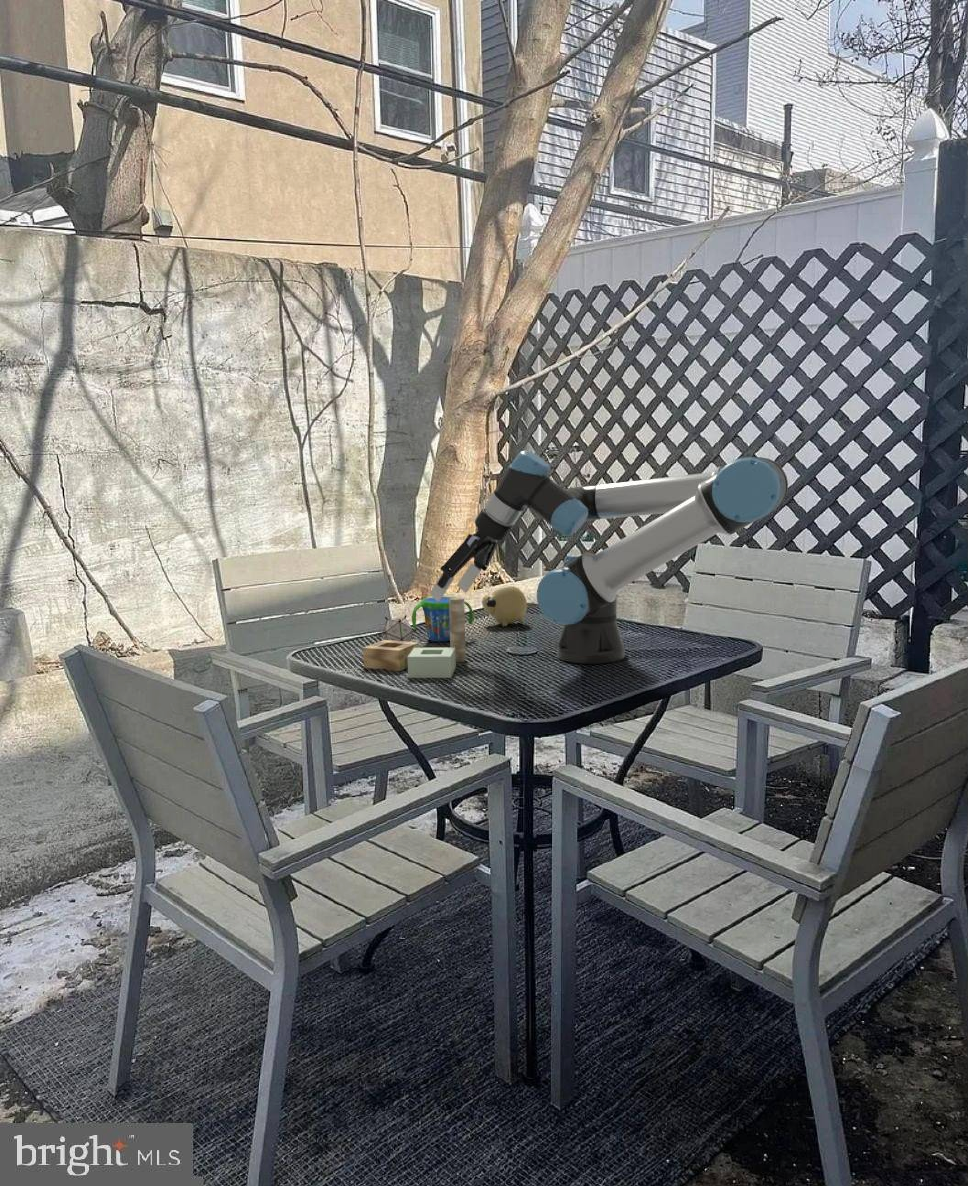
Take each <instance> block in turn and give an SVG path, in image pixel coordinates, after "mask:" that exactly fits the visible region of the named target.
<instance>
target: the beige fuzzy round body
mask: <svg viewBox="0 0 968 1186" xmlns="http://www.w3.org/2000/svg"><path fill="white" fill-rule="evenodd" d="M481 601H482V602H481V604H482V608H483V609H484V611H485V612H487V614H489V616H491V617H492V619H493V620H494V621H496V622H497V623H499V624H501V626H502V627H504V626H506V627H507V626H508V625H510V624H514V623H517V622H518V621H519V622H524V621H525V614H526V613H527V609H528V602H527V598H526V595H525V594H524V592H523V591H522V590H521V589H520V588H518V587H516V586H513V585H505V586H502V587H500V588H498V589H496V590H494V592H492V593H488V594H487V595H485V596H484V597H483V598H482V599H481Z"/></svg>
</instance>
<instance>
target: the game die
mask: <svg viewBox="0 0 968 1186" xmlns="http://www.w3.org/2000/svg"><path fill="white" fill-rule="evenodd" d="M407 617H408V616H407V614H405V615H404V617H398V618H388V617H387V616H384V619H385V620H386V621H385V623H384V627H383V630H382V632H381V634H379V635H378V638H382V639H383V640H393V641H406V642H412V641H411V640H412V638H413V635H414V632H416V631H418V628H416V629H415V628H414V627H413V626H412V625H411V624H410V623H409V622H408V620H407V619H406V618H407Z"/></svg>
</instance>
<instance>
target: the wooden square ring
mask: <svg viewBox="0 0 968 1186" xmlns="http://www.w3.org/2000/svg"><path fill="white" fill-rule="evenodd" d="M414 648H420V642H418V641H417V642H415V641H410V642H406V641H393V640H384V639H383V640H380V641H378V642H375V643H372V644H369V645H366V646H364V647H363V648H362V651H363V652H362V653H363V655H362V656H363V657H362V659H363V668H365V669H373V670H383V669H386V670H385V671H395V672H396V671H397V672H401V671H403V670H404V669H405V670H406V669H408V655H409V654H410V653H411V651H412V650H413V649H414Z"/></svg>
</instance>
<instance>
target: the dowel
mask: <svg viewBox="0 0 968 1186" xmlns="http://www.w3.org/2000/svg"><path fill="white" fill-rule="evenodd" d="M464 601H465V597H464V598H463V597H456V598H451V599H449V615H450V642H449V643H450V645H449V648H455V659H456V663H462V662H466V660H467V658H466V657H467V655H466V653H467V652H466V620H465V619H466V618H465V617H466V615H465V611H466V609H465V604H464Z"/></svg>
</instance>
